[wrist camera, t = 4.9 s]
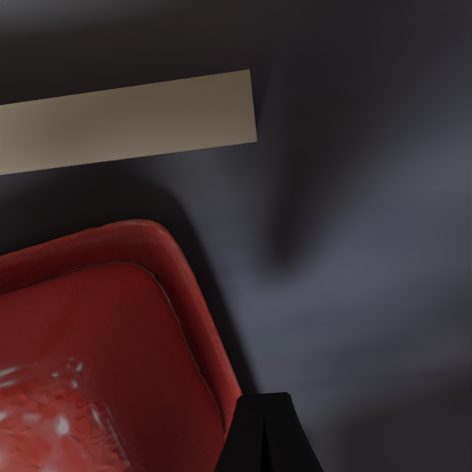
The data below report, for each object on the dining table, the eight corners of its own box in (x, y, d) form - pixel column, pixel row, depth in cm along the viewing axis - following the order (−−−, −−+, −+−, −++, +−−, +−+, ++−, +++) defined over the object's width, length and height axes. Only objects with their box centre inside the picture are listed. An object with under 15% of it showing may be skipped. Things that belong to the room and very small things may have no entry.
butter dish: (40, 492, 16) (-161, 853, 8) (-105, 284, 13) (-681, 551, 5) (272, 442, 15) (300, 820, 7) (176, 192, 12) (9, 361, 3)
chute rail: (254, 136, 11) (257, 141, 8) (-47, 175, 11) (-146, 193, 8) (249, 84, 10) (249, 69, 7) (-65, 128, 11) (-176, 130, 8)
